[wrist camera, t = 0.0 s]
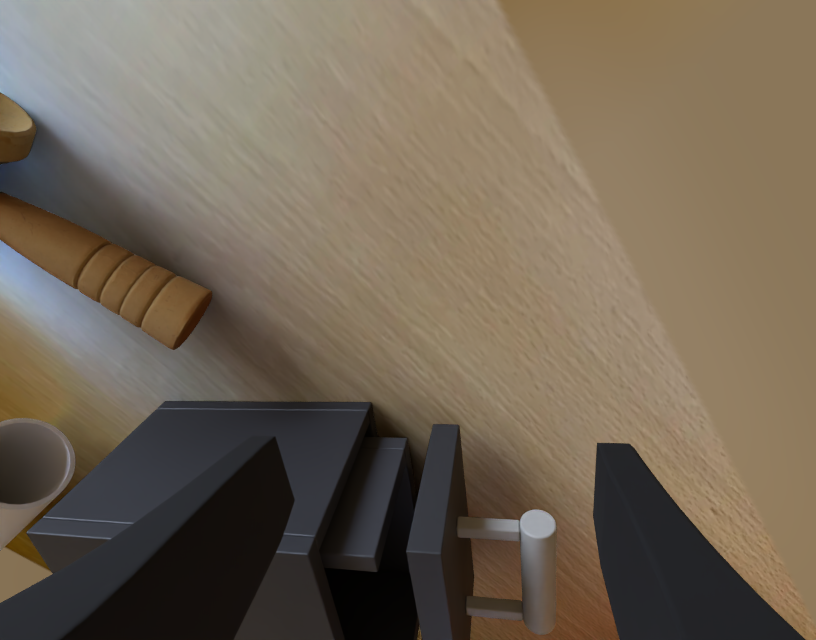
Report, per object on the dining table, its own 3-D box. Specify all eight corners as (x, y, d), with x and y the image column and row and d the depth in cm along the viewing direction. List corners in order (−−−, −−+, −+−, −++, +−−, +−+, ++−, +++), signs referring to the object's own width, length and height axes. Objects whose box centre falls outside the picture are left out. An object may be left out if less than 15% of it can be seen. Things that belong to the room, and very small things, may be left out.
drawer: (550, 425, 21) (567, 563, 15) (549, 582, 25) (562, 737, 19) (249, 421, 24) (164, 533, 18) (295, 561, 28) (239, 689, 22)
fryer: (371, 401, 23) (307, 555, 16) (402, 564, 28) (365, 739, 20) (164, 400, 25) (24, 532, 18) (226, 550, 30) (135, 702, 23)
